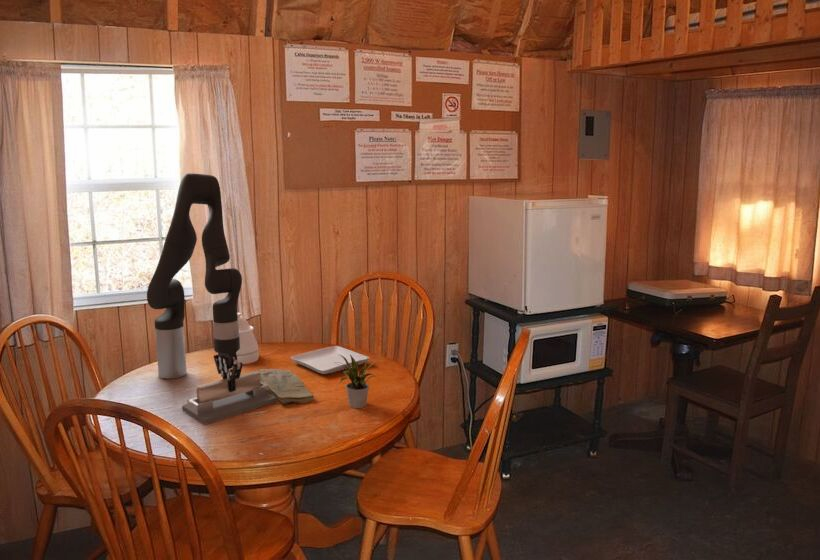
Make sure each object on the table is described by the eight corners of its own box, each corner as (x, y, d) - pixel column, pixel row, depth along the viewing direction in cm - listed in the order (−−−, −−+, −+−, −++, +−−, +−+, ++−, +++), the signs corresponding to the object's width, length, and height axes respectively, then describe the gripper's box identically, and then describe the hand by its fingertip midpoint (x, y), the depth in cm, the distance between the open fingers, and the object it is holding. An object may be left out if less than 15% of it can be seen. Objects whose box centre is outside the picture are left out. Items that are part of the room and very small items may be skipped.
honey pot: (254, 364, 240) (251, 316, 237) (218, 364, 241) (216, 316, 237) (262, 353, 253) (260, 308, 249) (228, 353, 253) (226, 307, 250)
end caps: (188, 409, 196) (187, 399, 195) (258, 389, 212) (258, 380, 212) (197, 415, 192) (197, 405, 191) (269, 394, 208) (268, 385, 208)
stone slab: (287, 364, 233) (316, 389, 207) (288, 375, 234) (316, 401, 207) (252, 369, 227) (277, 395, 201) (253, 380, 228) (277, 408, 202)
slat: (197, 402, 196) (196, 386, 195) (256, 385, 209) (255, 370, 208) (201, 404, 194) (200, 388, 193) (260, 387, 208) (260, 372, 207)
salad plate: (289, 364, 242) (288, 355, 241) (336, 352, 256) (336, 344, 255) (322, 380, 226) (322, 370, 226) (371, 366, 240) (371, 357, 240)
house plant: (320, 407, 202) (319, 355, 199) (348, 393, 214) (347, 344, 210) (358, 417, 195) (358, 364, 191) (385, 402, 206) (384, 351, 203)
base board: (182, 410, 199) (181, 405, 199) (252, 390, 216) (252, 385, 215) (204, 424, 189) (204, 419, 189) (276, 402, 206) (276, 397, 205)
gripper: (249, 337, 196) (252, 392, 199) (226, 328, 205) (229, 381, 209) (226, 342, 190) (230, 399, 194) (203, 332, 200) (207, 387, 204)
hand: (229, 389), depth 201 cm, fingers closed on slat, 2 cm apart
